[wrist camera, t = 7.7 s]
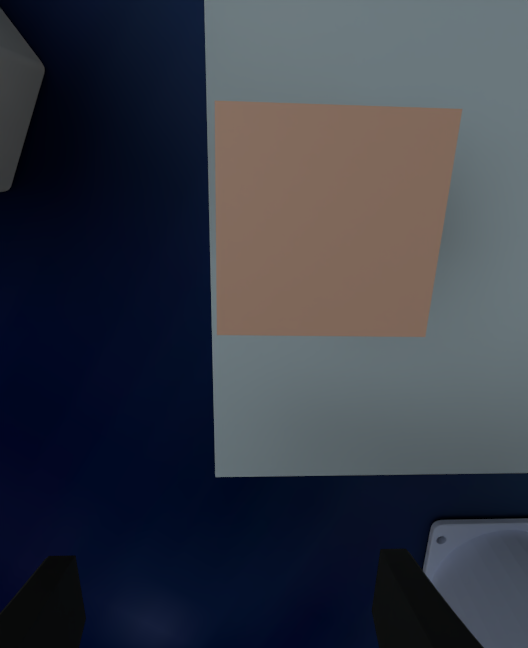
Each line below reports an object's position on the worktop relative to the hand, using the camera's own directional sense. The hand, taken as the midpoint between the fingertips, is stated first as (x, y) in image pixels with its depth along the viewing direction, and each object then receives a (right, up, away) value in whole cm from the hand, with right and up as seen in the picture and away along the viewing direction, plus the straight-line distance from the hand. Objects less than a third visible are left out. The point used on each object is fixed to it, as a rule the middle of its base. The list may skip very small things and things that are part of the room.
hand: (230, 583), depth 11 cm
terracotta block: (+2, +10, +3) cm, 10 cm away
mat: (+7, +8, +8) cm, 13 cm away
